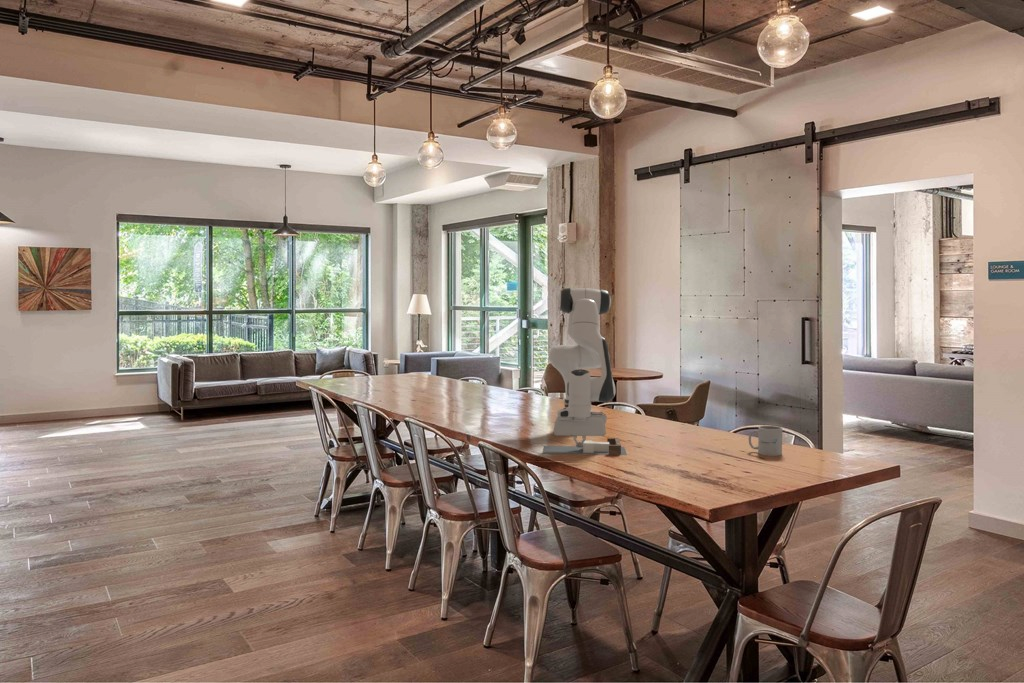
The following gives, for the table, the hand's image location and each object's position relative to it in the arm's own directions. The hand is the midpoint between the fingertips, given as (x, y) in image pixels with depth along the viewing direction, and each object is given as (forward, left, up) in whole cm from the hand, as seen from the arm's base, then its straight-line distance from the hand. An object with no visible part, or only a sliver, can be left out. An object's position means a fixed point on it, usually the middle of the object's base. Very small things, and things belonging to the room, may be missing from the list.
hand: (579, 447), depth 291 cm
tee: (0, +6, -1) cm, 7 cm away
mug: (-3, +71, -2) cm, 71 cm away
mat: (0, +2, -2) cm, 2 cm away
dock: (0, +13, -1) cm, 13 cm away
